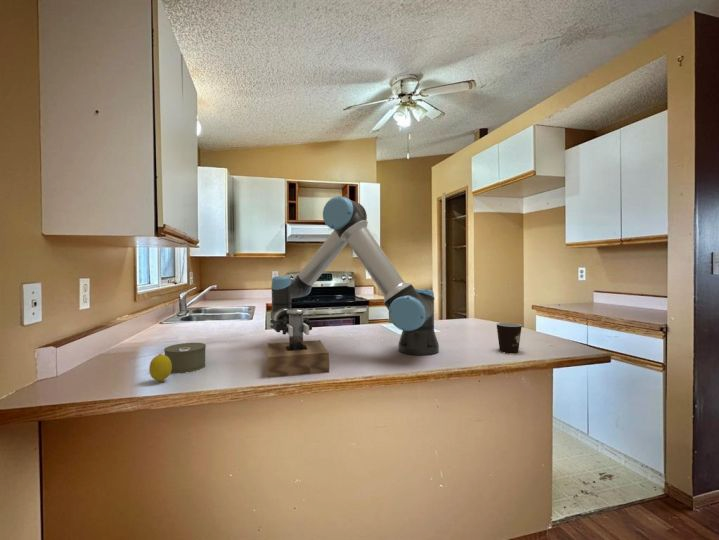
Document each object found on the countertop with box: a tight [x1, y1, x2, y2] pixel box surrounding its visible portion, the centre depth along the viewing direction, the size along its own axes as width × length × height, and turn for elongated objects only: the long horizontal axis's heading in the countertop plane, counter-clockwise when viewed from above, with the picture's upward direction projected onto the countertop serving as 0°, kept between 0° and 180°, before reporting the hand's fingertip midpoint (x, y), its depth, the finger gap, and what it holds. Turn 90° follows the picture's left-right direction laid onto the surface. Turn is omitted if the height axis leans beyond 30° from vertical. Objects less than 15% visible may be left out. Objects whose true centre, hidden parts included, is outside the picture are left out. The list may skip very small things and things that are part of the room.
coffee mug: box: [496, 322, 523, 354], centre depth 132 cm, size 12×9×10 cm
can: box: [163, 342, 207, 374], centre depth 113 cm, size 12×12×7 cm
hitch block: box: [267, 339, 330, 378], centre depth 114 cm, size 18×18×6 cm
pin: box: [287, 308, 306, 351], centre depth 114 cm, size 6×6×14 cm
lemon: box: [148, 353, 172, 383], centre depth 100 cm, size 6×6×8 cm
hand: (299, 331), depth 109 cm, fingers closed on pin, 4 cm apart
